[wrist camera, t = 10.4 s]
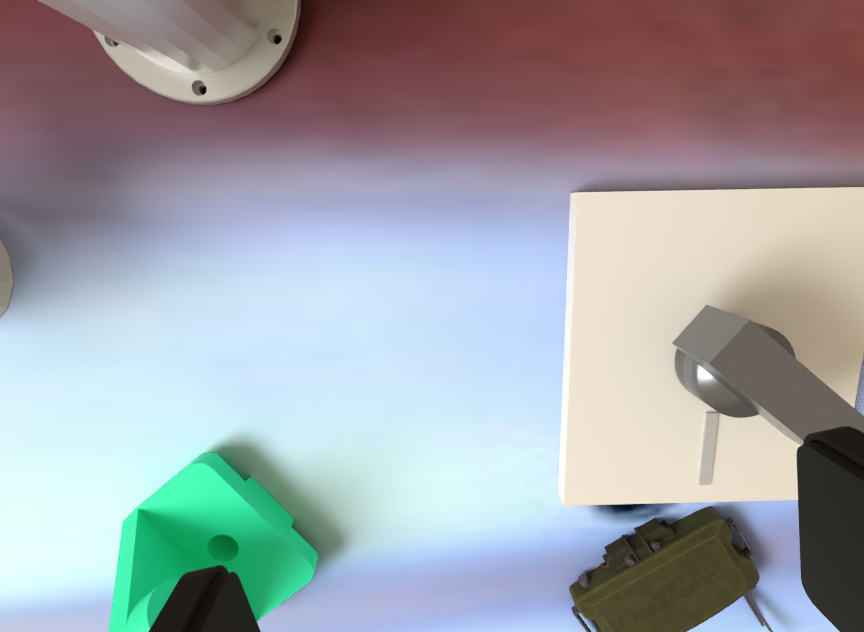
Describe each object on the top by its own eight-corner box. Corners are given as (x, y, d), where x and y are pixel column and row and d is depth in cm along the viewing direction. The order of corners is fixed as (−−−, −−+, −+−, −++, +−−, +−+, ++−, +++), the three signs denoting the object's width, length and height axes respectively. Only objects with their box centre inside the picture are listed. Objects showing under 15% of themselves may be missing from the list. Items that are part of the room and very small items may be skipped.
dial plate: (570, 193, 32) (578, 192, 31) (872, 187, 33) (896, 186, 31) (558, 493, 37) (564, 507, 36) (821, 487, 37) (840, 500, 36)
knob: (634, 348, 33) (689, 385, 26) (697, 277, 32) (770, 297, 25) (769, 456, 35) (853, 516, 28) (832, 392, 34) (935, 439, 27)
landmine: (726, 501, 35) (815, 645, 38) (705, 481, 38) (790, 616, 40) (557, 599, 37) (655, 729, 39) (548, 573, 39) (640, 697, 42)
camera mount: (327, 549, 38) (292, 671, 28) (255, 603, 39) (196, 740, 29) (216, 439, 36) (136, 529, 26) (143, 499, 37) (39, 608, 27)
